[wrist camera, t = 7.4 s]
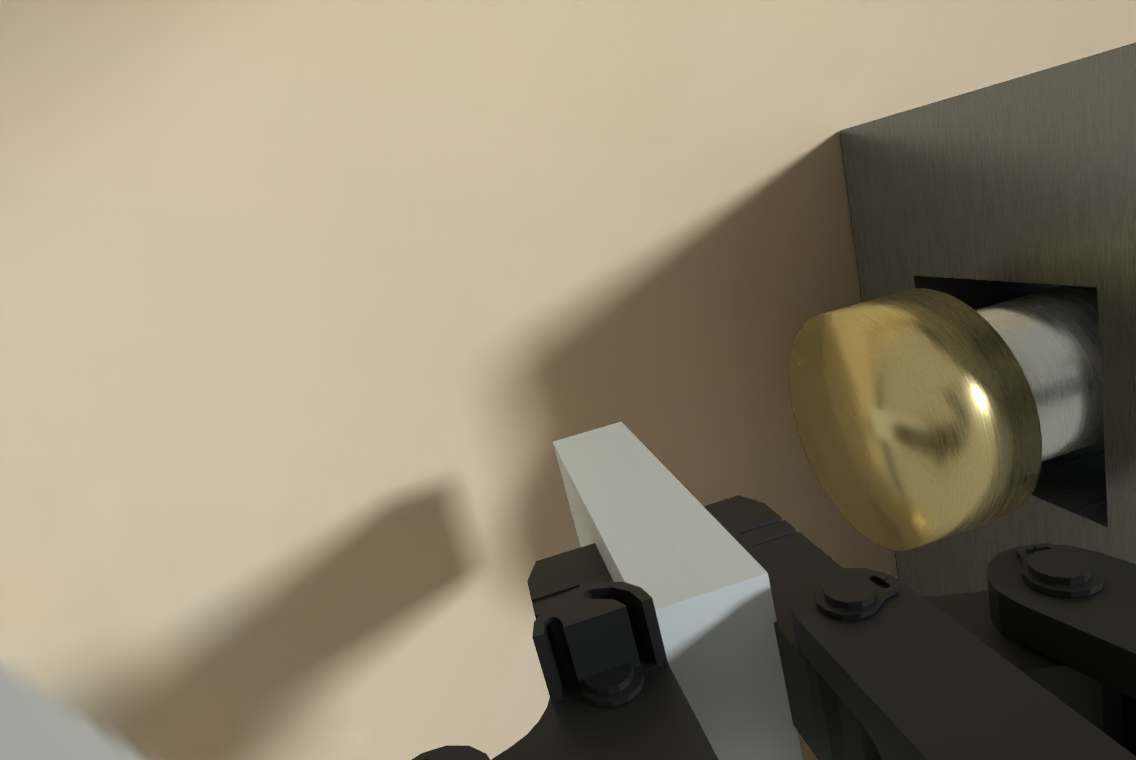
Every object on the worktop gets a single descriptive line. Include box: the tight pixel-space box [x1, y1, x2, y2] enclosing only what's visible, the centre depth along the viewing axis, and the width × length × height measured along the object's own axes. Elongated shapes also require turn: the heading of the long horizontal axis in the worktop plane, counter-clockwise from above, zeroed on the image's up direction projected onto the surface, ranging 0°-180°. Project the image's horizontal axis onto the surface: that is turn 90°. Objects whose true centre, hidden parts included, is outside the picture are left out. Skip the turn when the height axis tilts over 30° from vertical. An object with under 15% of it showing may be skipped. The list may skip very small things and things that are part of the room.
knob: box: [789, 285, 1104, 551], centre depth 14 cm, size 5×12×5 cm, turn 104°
